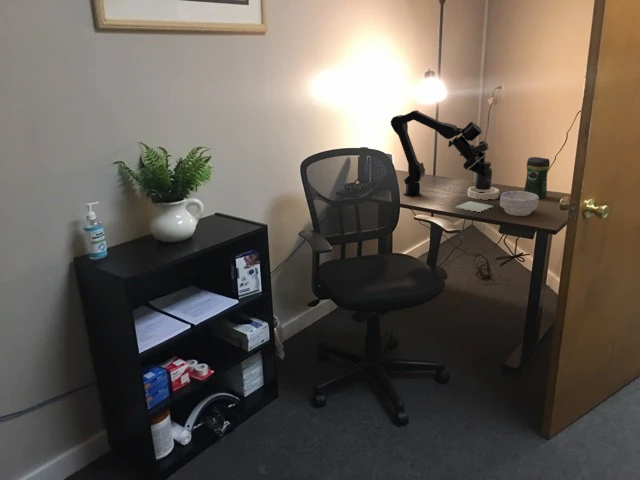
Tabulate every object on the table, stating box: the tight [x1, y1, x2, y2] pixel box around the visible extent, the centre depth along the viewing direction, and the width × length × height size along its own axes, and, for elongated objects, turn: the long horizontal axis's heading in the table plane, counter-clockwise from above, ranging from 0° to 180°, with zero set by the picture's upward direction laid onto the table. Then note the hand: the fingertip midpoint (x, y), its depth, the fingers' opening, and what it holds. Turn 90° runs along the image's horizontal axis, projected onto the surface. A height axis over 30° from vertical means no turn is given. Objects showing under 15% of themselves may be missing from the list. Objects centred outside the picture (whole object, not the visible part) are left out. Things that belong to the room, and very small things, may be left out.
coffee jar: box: [523, 156, 551, 200], centre depth 242 cm, size 10×8×19 cm
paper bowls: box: [499, 190, 540, 217], centre depth 221 cm, size 15×15×8 cm
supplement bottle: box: [474, 160, 493, 190], centre depth 236 cm, size 7×7×12 cm
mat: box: [454, 201, 494, 213], centre depth 232 cm, size 12×12×1 cm
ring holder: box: [466, 185, 500, 201], centre depth 250 cm, size 14×14×3 cm
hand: (487, 174), depth 235 cm, fingers closed on supplement bottle, 7 cm apart
